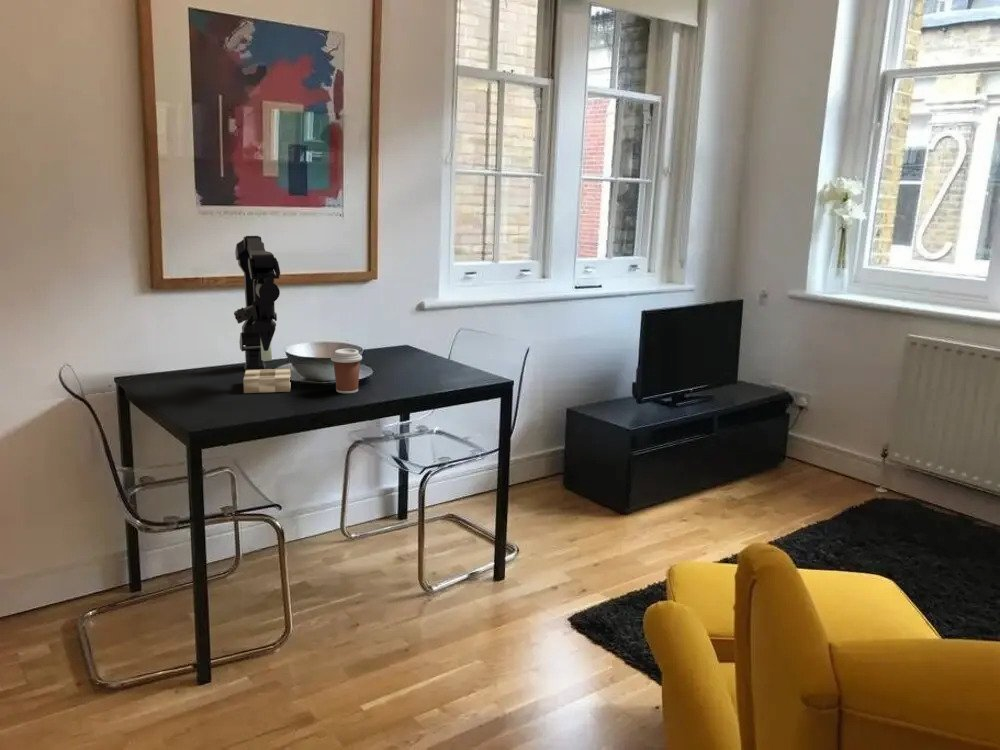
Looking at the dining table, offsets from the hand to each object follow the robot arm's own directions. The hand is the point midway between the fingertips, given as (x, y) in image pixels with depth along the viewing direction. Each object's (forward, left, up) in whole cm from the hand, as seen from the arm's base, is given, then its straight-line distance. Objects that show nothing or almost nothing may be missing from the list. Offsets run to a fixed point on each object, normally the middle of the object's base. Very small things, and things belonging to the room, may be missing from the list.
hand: (266, 349), depth 248 cm
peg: (0, 0, -3) cm, 3 cm away
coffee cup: (+7, +23, -12) cm, 27 cm away
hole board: (0, 0, -11) cm, 11 cm away
